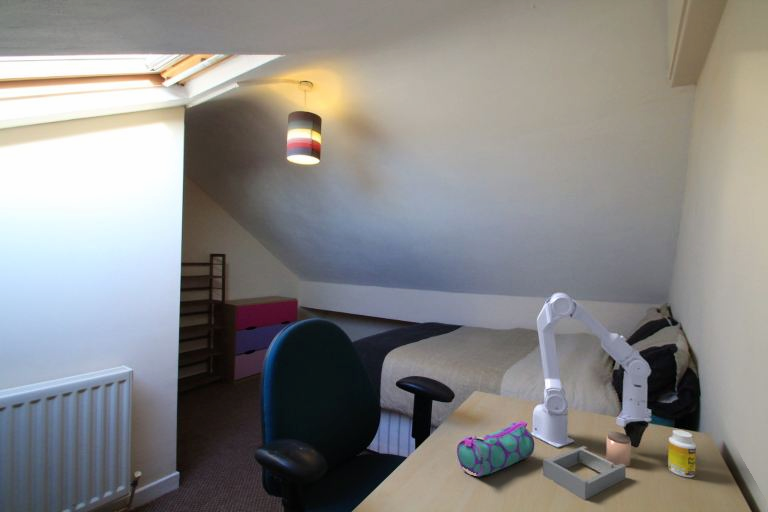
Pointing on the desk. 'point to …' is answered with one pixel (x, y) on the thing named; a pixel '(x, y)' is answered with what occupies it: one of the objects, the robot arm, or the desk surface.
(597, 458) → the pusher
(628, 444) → the jar
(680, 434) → the supplement bottle
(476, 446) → the pencil case
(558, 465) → the grey rectangular frame
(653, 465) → the desk surface
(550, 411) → the robot arm
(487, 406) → the desk surface
